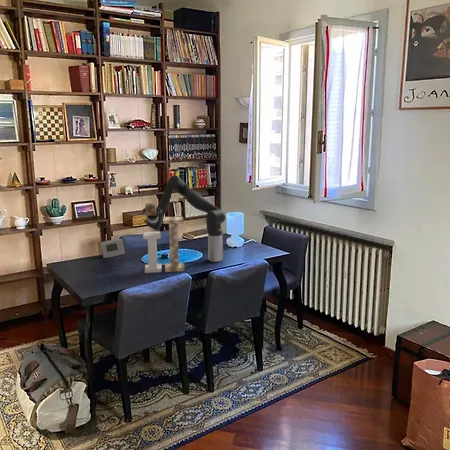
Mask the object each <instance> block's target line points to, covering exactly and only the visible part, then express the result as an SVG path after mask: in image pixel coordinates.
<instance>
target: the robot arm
mask: <svg viewBox="0 0 450 450" xmlns="http://www.w3.org/2000/svg"><path fill="white" fill-rule="evenodd" d="M173 192H176V193H178V194H179V195H181V196H182V197H184V199H185V201H187V203H189V205H190V206H192V207H193V208H195V209H196V210H198V211H202V212H203V213H206V215H205V216H206V217H205V218H206V219H205V220H206V231H207V237H208V238H207V244H208V245H207V247H208V248H207V251H208V256H207V258H208V261H210V262H212V263H215V262H222V261H223V260H224V246H223V229H221V228H218V225H220V224H223V223H224V222H225V220H226V215H225V213H224V211H223V210H222V209H220V208H218V207H217V206H215V205H214V204H213V203H211V202H210V201H208V200H207V199H206V198H205V197H203V196H202V195H201V194H200V193H199V192H197V191H196V190H194V189H192V188H191V187H189V186H188V184H186V182H185V181H184V180H183V179H181V178H180V177H179V176H178V175H172V176H170V178H169V179H168V180H167V184H166V187H165V189H164V191H163V194H162V197H161V199H160V201H159V203H158V205H156V215H154V216H146V221H145V224H146V227H147V226H148V227H149V228H151V229H153V230H154V231H158V230H160V229H161V227H162V224H163V217H165V214H166V212H167V211H168V210H169V208H170V201H171V197H172V194H173ZM144 214H145V215H146V212H145V207H144V208H143V209H142V210H141V215H144Z"/></svg>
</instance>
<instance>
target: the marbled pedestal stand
mask: <svg viewBox="0 0 450 450" xmlns="http://www.w3.org/2000/svg"><path fill="white" fill-rule="evenodd" d="M162 224H163V225H164V224H165V225H167V224H168V227H169V228H168V230H169V231H168V232H169V257H170V258H169V262H170V263H164V272H165V273H168V272H169V273H170V272H171V273H172V272H175V273H176V272H185V270H186V269H185V268H186V267H185V263H184V262H180V261H179V260H180V259H179V232H178V231H179V229H178V226H179V225H178V224H184V216H164V217H163V220H162Z"/></svg>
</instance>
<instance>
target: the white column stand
mask: <svg viewBox="0 0 450 450" xmlns="http://www.w3.org/2000/svg"><path fill="white" fill-rule="evenodd" d="M142 239H143V240H147V252H148V253H147V255H148V264H145V265H144V273H145V274H151V273H162V271H163V269H162V263H158V250H157V240H158V239H159V240H160V239H161V231H144V232H143V235H142Z"/></svg>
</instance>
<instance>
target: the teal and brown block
mask: <svg viewBox="0 0 450 450" xmlns="http://www.w3.org/2000/svg"><path fill="white" fill-rule="evenodd" d="M156 204H157V203H155V202H154V203H153V202H152V203H145V206H144V208H145V212H146V214H145V216H146V217H147V216H154V215H156V208H157V205H156Z"/></svg>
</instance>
